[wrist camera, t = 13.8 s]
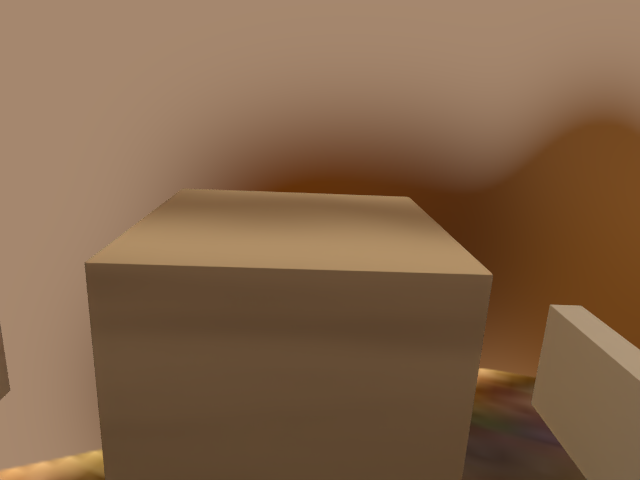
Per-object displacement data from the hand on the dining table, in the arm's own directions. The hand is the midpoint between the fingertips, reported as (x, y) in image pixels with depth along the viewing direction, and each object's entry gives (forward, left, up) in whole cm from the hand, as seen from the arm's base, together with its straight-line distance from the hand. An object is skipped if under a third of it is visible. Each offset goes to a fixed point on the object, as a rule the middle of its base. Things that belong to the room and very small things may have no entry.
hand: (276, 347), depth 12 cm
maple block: (-1, 0, -9) cm, 9 cm away
